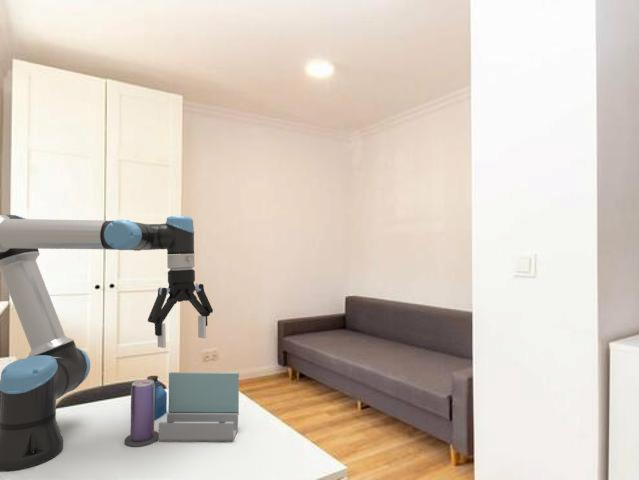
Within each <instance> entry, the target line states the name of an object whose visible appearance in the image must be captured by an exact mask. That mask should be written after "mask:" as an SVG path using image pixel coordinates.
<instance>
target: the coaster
mask: <svg viewBox="0 0 639 480" xmlns="http://www.w3.org/2000/svg"><path fill="white" fill-rule="evenodd" d="M123 442H124V443H123V444H124V445H125V446H127V447H131V448H141V447H142V448H143V447H146V446H150V445H152V444H154V443H156V442H159V431H156V430H154V435H153V437H152V438H151V439H149V440H147V441H143V442H134V441H132V439H131V438H130V434H129V435H128V436H126V437H125V438H124V440H123Z"/></svg>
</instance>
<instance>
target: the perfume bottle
mask: <svg viewBox="0 0 639 480" xmlns="http://www.w3.org/2000/svg"><path fill="white" fill-rule="evenodd" d="M158 377H159V376H158V375H149V376H147V377H146V379H151V380H154V384H155V405H154V421H157V420H158V419H160V418H161V417H163V416H164V415H165V414H168V411H167V407H168V406H167V405H168V403H167V402H168V401H167V399H168V397H167V396H168V395H167V391H166V390H165V388H164V387H163V386H162V385H158V384H159V379H158Z"/></svg>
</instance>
